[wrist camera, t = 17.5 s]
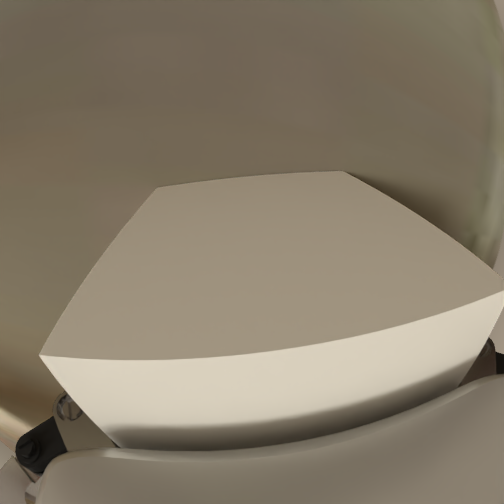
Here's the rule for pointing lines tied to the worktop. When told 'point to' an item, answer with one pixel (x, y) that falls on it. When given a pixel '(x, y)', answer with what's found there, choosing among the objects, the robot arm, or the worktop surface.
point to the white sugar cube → (269, 315)
